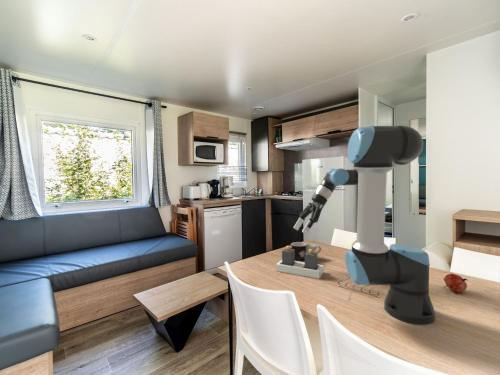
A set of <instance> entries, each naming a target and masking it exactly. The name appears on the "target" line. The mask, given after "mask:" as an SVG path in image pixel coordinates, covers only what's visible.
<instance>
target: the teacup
mask: <svg viewBox="0 0 500 375" xmlns="http://www.w3.org/2000/svg"><path fill="white" fill-rule="evenodd" d="M306 244H307V245H306V253H307V252H309V249H313V252H315V253H317V255H318V254H319V253H320V252H322V247H321V246H320V245H315V244H314V243H306ZM317 248H318V250H317ZM316 250H317V251H316Z"/></svg>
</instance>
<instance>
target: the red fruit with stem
mask: <svg viewBox="0 0 500 375" xmlns="http://www.w3.org/2000/svg"><path fill="white" fill-rule="evenodd" d="M443 281H444V282H445V286H444V288H448V289H449V291H450V292H452V293H455V292H457V293H458V294H459V293H462V292H464V291H466V289H467V288H468V284H467V282H466V281H468V279H467V278H463V277H462V276H460V275H458V274H454V273H449V274H446V275H445V276H444V277H443ZM457 293H456V294H457Z"/></svg>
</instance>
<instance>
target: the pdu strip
mask: <svg viewBox="0 0 500 375" xmlns="http://www.w3.org/2000/svg"><path fill="white" fill-rule="evenodd" d="M324 267H325V266H324V265H323V264H318V269H317V270H312V269H306V268H305V261H304V262H299V261H295V264H294V265H293V266H288V265H282V259H281V260H279V261H278V262H277V263H275V271H276V272H280V273H283V274H284V273H286V274H291V275H295V276H302V277H305V278H313V279H318V280H320V278H321V277H322V275H323V274H324V273H325V271H324V270H325V269H324Z"/></svg>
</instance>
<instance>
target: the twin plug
mask: <svg viewBox="0 0 500 375" xmlns="http://www.w3.org/2000/svg"><path fill="white" fill-rule="evenodd" d="M304 255H305V261H304V262H305V268H306V269H312V270H317V269H318V263H319V262H318V257H319V256H318V254H317V253H316V251H315V252H313V249H309V252H307V253H305V254H304Z"/></svg>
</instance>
